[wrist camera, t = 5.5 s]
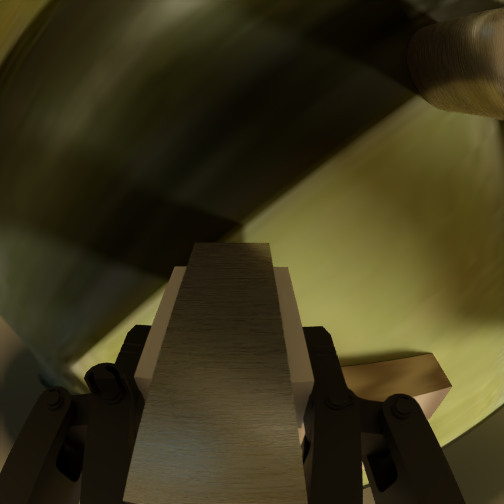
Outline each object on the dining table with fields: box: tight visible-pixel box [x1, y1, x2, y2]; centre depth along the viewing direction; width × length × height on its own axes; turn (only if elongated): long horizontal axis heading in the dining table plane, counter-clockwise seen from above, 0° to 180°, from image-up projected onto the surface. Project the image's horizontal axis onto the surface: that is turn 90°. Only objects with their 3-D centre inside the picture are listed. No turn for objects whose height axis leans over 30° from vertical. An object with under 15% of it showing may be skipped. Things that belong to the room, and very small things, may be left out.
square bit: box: [123, 243, 308, 504], centre depth 10 cm, size 4×4×12 cm
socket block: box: [298, 353, 452, 470], centre depth 22 cm, size 14×14×4 cm
